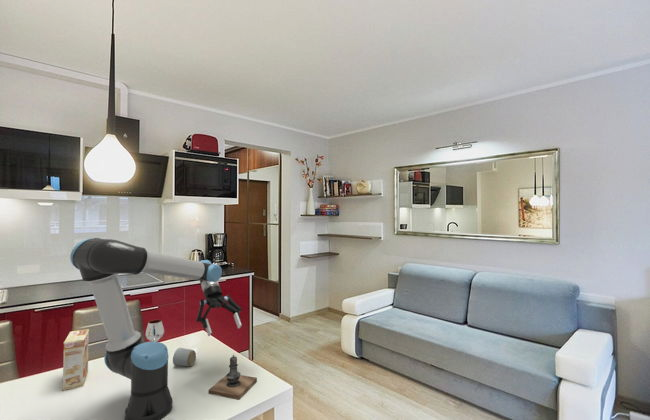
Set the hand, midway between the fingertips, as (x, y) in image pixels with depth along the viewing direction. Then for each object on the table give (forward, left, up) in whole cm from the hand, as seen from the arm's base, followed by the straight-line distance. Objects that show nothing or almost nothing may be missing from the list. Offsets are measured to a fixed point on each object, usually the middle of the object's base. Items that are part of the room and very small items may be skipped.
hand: (225, 330), depth 135 cm
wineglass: (+9, +47, -22) cm, 52 cm away
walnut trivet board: (-3, -6, -22) cm, 23 cm away
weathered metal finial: (-3, -6, -20) cm, 21 cm away
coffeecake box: (-18, +62, -22) cm, 68 cm away
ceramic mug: (+8, +27, -22) cm, 36 cm away
